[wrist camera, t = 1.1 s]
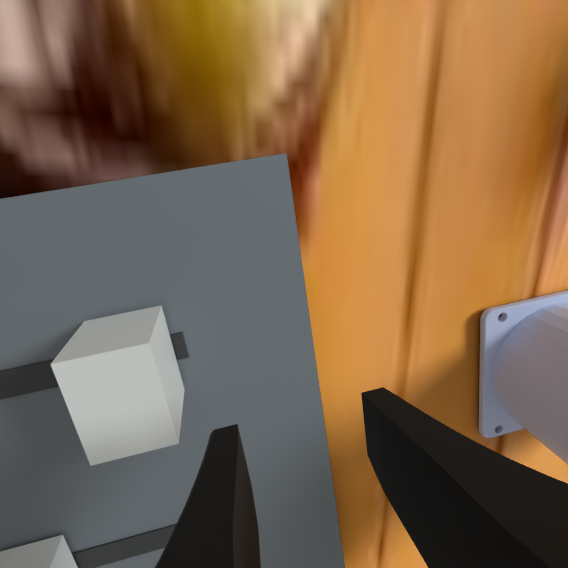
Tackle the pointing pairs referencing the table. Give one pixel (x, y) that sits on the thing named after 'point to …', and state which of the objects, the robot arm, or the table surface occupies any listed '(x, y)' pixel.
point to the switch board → (189, 354)
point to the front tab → (122, 385)
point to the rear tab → (39, 555)
